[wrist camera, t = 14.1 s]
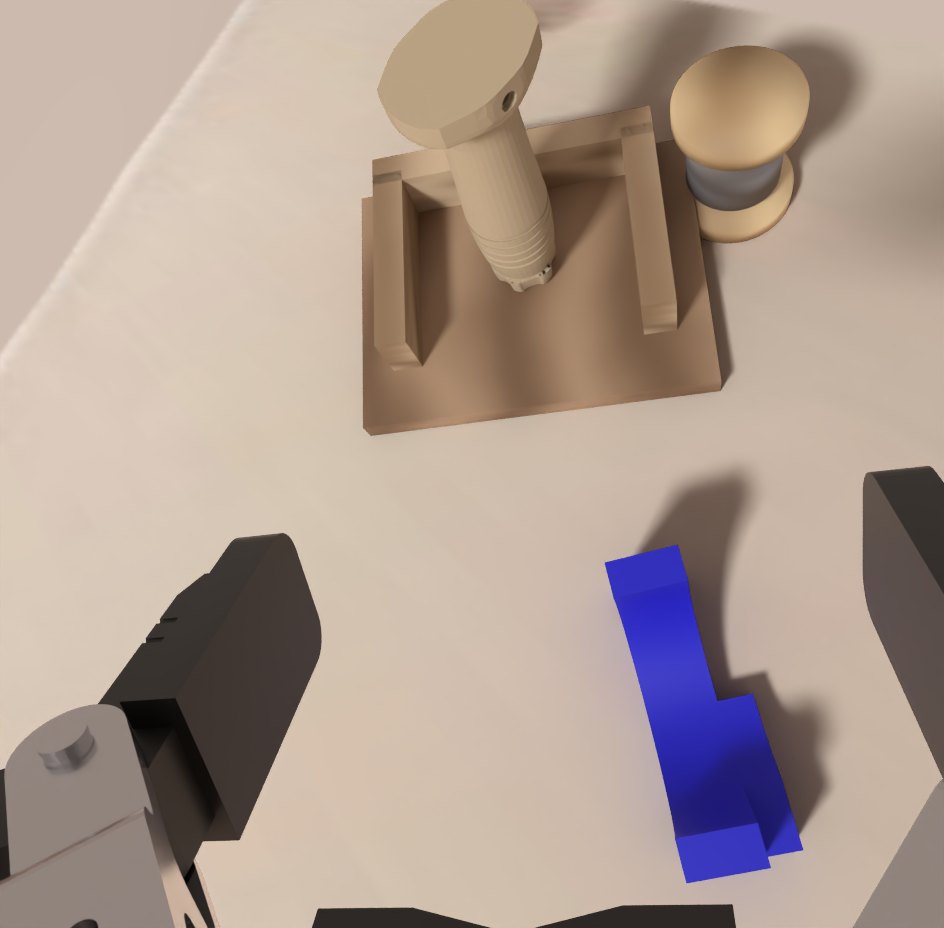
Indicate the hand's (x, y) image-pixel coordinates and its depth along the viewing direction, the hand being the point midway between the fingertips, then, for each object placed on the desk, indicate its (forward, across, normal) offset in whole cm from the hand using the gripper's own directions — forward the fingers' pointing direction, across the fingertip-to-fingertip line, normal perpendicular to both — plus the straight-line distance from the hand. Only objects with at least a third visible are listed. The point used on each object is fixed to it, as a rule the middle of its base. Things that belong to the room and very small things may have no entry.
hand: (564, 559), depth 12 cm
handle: (+35, +4, +4) cm, 35 cm away
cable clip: (+20, -2, +21) cm, 29 cm away
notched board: (+35, +4, +6) cm, 36 cm away
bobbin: (+38, -7, +3) cm, 38 cm away
